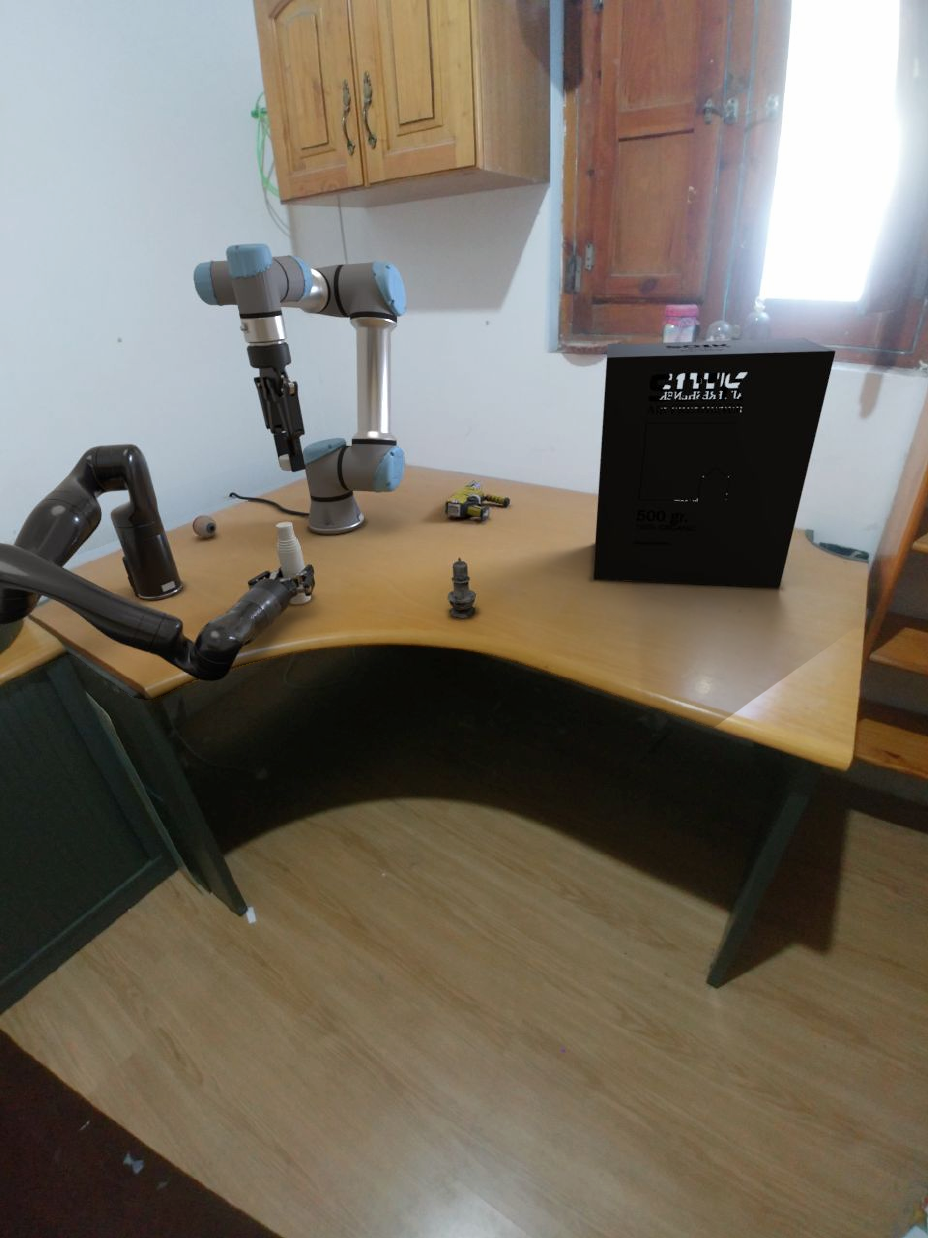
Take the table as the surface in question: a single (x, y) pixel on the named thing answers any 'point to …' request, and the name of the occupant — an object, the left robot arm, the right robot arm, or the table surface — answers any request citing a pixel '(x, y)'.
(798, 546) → the table surface
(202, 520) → the eyeball
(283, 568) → the bottle
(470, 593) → the grey chess piece
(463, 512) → the toy gun
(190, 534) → the table surface
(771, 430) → the cardboard box
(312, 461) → the right robot arm
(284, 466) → the cap
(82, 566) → the table surface
